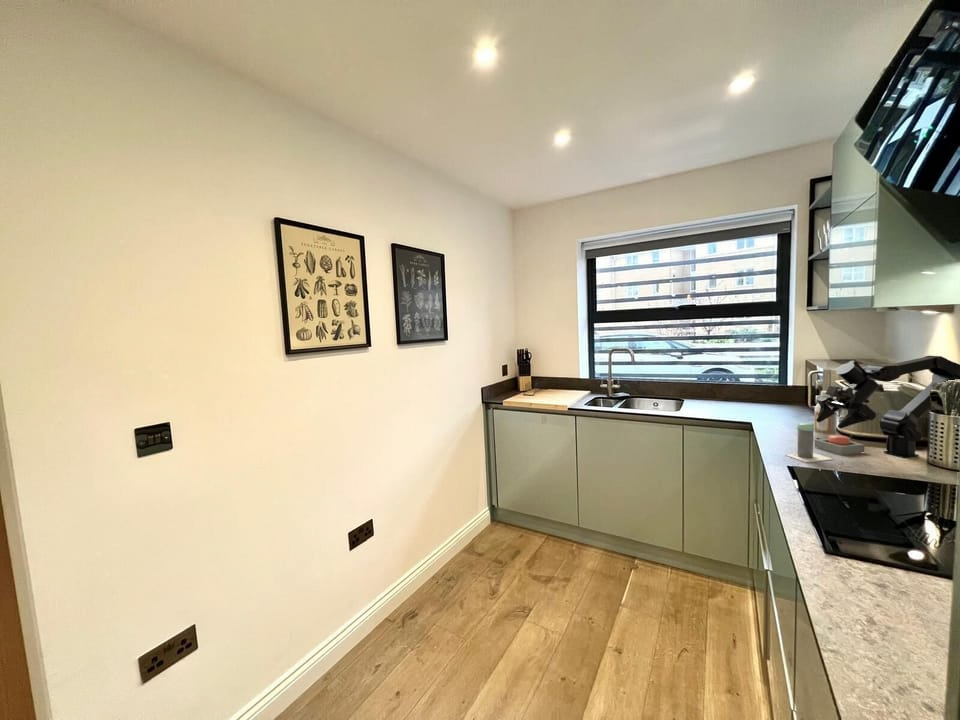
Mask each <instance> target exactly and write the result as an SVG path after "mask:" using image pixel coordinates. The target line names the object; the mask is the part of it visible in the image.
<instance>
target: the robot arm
mask: <svg viewBox="0 0 960 720" xmlns="http://www.w3.org/2000/svg"><path fill="white" fill-rule="evenodd" d="M925 370H928V371H929V373H931V374H932V375H931V383H930V384H928V385H927V386H926V387H925V388H923V390H922V391H920V392H919V393H918V394H917V395H916V396H914V398H913V399H912V400H910V402H908V403H907V404H906V405H905V406H904V407H902V409H900V410H894V409H889V410H888V411H887V412H886V413H885V414H884V415H881V419H880V420H879V428H880V429H881V432H882V433H883V435H884V436H887V439H886V444H885V447H886V449H885V450H883V453H884V454H887V455H892V456H896V457H899V458H914V457H919V456H920V455H919V454H917V453H916V442H919V441H921V440H922V437H923V434H922V433H921V432H920V431H918V429H916V428H917V427H918V419H920V418H921V416H923V414H925V413H926V412H927V411H928V410H929V409H930V408H931V407H930V391H931V389H932V385H933V384H934V383H942V382H946V381H948V380H955V379H960V363H957V362H954V361H952V360H949V359H947V358H946V357H943V356H941V355H924V356H922V357H919V358H914V359H910V360H909V359H908V360H905V361H899V362H895V363H878V364H877V363H876V364H868V365H867V366H866V367H864V368H863V367H862V366H861V365H860V364H859V363H858V361H856V360H849V362H846V363H843V364H841V365H839V366H838V367H837V368H836V369H835V374H837V375H838V376H839V377H840V378H841V379H843V381H845V382H846V383H847V384H848V385H852V386H851V387H850V386H849V387H848V386H844V387H839V386H834V385H828V387H827V390H825V391H826V393H825V394H827V395H828V394H829V395H830V397H825V396H821V395H820V396H819V397H818V398H817V399H816V401H817V404H819V405H820V407H821V408H820V412H819V415H818V417H817V420H816V421H817V422H821V421H823V420H825V419H827V418H828V417H830V416H832V415H833V414H835V411H836V412H838V411H839V410H844V411H847V414H846V415H845V416H844V417H843V419H842V420H841V421H840V422H839V424H838V425H837V429H843V428H847V427H849V426H852V425H856V424H859V423H863V422H868V421H873V420H875V419H876V418H877V412H876V411H874V410H873V409H872V408H871V407H870V406H869V405H868V403H870V400H869V399H870V397H871V396H872V395H873V394H874V393H875V392H879V393H884V392H885V388H884V385H883V384H882V383H881V384H880V383H878V382H884V383H890V382H892V381H895V380H898V379H899V378H900V377H901V376H904V375H907V374H911V373H917V372H921V371H925ZM831 396H832V397H833V398H832V397H831Z"/></svg>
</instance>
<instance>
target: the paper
mask: <svg viewBox="0 0 960 720" xmlns="http://www.w3.org/2000/svg"><path fill="white" fill-rule="evenodd" d="M786 455H787V456H786V457H788V456H789V457H788V458H791V457H792V459H794V458H795V459H794V460H797V459H798V461H801V462H804V463H814V462H815V463H816V462H823V461H824V462H825V461H833V460H834V458H831V457H827V456H824V455H821V454H819V453H815V452H813V458H802V457H799V456H797V453H790V454H786Z"/></svg>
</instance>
